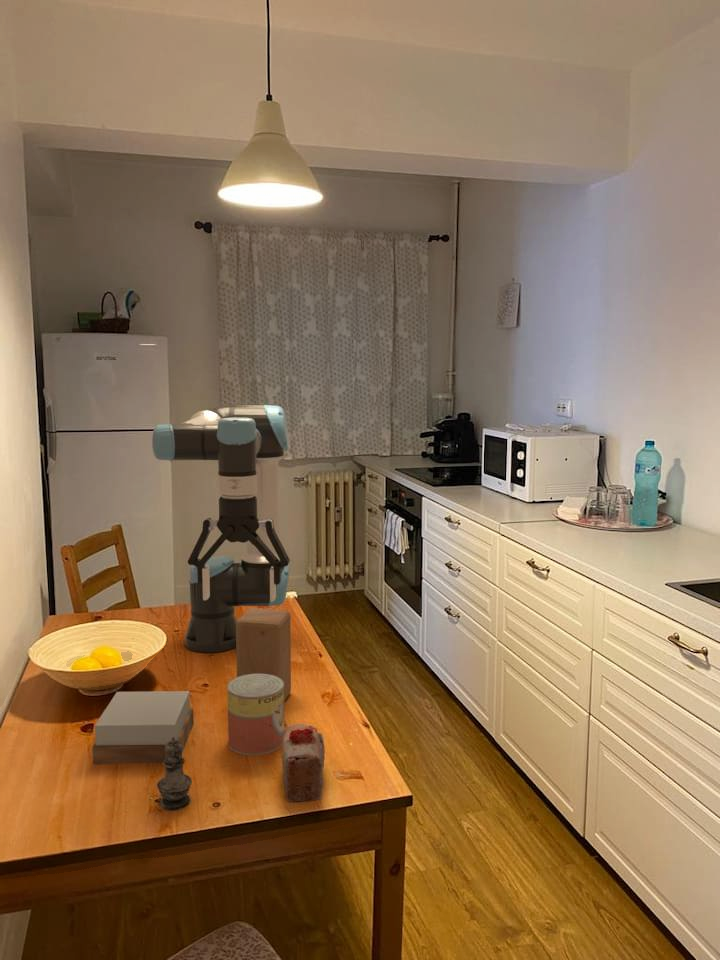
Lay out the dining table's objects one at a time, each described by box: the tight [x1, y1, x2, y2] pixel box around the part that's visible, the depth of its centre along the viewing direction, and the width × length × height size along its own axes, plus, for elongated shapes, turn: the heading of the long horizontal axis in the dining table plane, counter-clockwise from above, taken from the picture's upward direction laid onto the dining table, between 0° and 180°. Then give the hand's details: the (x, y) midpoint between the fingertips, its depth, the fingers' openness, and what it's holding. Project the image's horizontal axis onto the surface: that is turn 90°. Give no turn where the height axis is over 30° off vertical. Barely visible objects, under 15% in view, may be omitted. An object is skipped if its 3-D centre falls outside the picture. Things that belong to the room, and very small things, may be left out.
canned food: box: [226, 673, 285, 756], centre depth 150 cm, size 11×11×12 cm
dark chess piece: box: [156, 737, 193, 812], centre depth 128 cm, size 6×6×12 cm
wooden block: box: [235, 607, 292, 702], centre depth 168 cm, size 10×10×20 cm
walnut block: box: [92, 707, 195, 765], centre depth 149 cm, size 16×16×4 cm
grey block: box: [94, 690, 191, 746], centre depth 149 cm, size 15×15×4 cm
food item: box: [281, 723, 326, 802], centre depth 135 cm, size 14×8×10 cm, turn 8°
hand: (239, 599), depth 152 cm, fingers open, 13 cm apart
